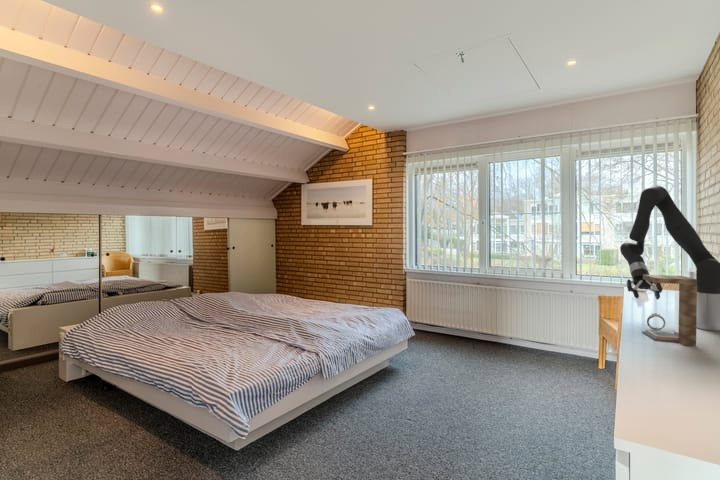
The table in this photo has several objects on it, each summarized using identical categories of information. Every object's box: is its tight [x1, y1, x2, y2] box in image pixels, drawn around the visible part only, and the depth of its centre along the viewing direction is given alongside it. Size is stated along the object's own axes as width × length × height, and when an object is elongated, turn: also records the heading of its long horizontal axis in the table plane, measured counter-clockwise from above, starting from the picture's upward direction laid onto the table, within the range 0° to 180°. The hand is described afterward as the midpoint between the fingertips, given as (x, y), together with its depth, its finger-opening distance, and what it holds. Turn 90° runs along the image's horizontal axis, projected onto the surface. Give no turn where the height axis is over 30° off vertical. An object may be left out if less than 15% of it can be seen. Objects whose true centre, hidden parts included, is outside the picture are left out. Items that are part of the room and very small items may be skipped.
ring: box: [646, 312, 667, 331], centre depth 183 cm, size 7×3×8 cm, turn 50°
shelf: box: [643, 274, 697, 347], centre depth 165 cm, size 14×14×27 cm
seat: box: [641, 328, 679, 343], centre depth 170 cm, size 14×14×2 cm
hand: (647, 298), depth 192 cm, fingers open, 8 cm apart
